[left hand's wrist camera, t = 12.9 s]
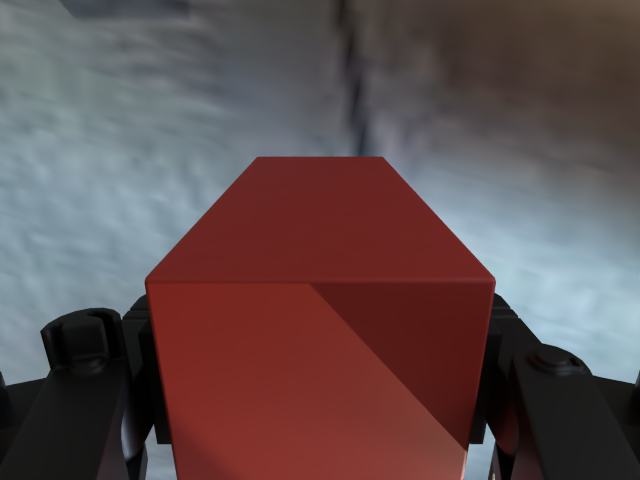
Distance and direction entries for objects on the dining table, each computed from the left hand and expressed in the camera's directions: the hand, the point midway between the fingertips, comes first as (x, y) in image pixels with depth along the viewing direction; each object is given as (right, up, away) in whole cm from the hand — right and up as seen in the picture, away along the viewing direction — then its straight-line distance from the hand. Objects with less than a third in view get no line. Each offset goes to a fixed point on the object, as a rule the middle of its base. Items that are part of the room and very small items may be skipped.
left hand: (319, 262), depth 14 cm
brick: (0, +1, +4) cm, 4 cm away
